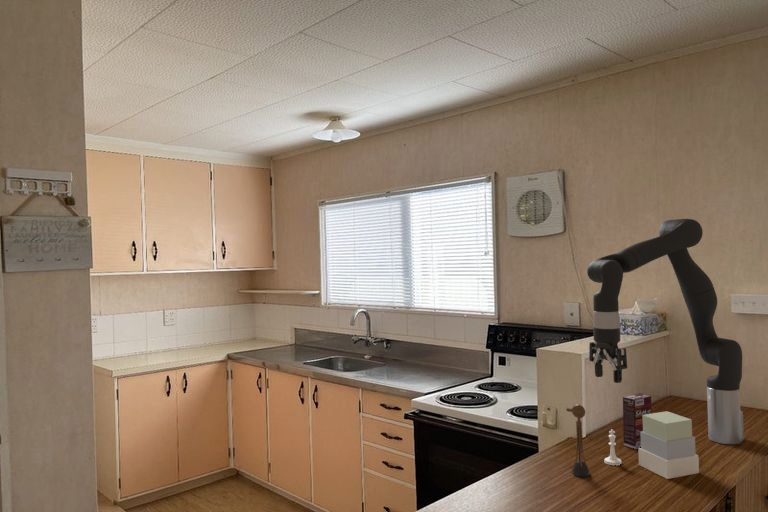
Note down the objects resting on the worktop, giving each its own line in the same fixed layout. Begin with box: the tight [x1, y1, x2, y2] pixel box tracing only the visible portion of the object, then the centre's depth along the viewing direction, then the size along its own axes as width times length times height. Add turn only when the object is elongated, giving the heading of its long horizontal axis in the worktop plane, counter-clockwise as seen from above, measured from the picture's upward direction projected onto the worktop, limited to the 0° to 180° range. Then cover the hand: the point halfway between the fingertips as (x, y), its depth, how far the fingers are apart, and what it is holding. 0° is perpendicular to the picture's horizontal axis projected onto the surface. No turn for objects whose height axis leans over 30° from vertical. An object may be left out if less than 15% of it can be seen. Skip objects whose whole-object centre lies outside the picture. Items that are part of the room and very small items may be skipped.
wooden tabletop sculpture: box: [565, 404, 591, 478], centre depth 163 cm, size 6×5×20 cm
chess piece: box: [603, 429, 623, 466], centre depth 170 cm, size 5×5×10 cm
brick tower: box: [637, 410, 700, 480], centre depth 164 cm, size 11×11×15 cm
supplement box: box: [622, 393, 653, 450], centre depth 184 cm, size 9×5×16 cm, turn 119°
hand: (608, 379), depth 171 cm, fingers open, 8 cm apart
